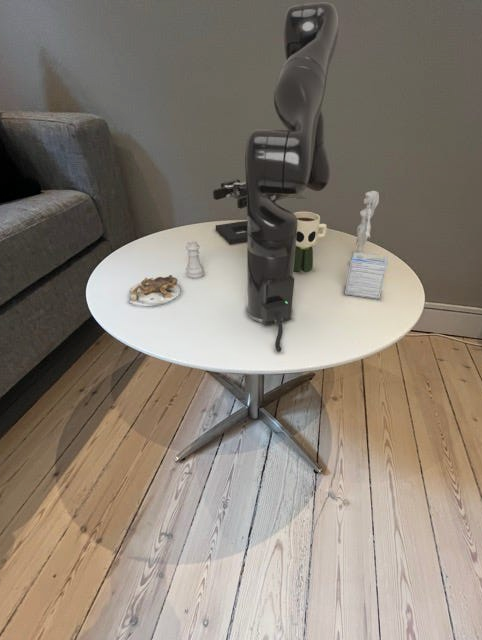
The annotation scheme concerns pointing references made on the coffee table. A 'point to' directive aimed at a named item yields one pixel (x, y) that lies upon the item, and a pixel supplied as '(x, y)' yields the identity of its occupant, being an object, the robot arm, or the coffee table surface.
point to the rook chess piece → (193, 261)
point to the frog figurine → (154, 291)
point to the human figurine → (366, 213)
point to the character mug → (307, 239)
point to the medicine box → (366, 275)
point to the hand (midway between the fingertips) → (226, 199)
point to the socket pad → (233, 232)
